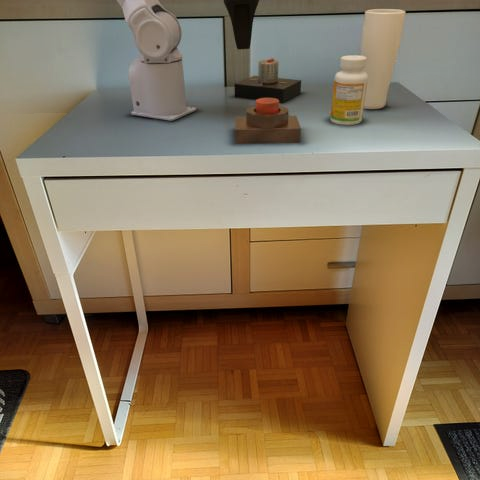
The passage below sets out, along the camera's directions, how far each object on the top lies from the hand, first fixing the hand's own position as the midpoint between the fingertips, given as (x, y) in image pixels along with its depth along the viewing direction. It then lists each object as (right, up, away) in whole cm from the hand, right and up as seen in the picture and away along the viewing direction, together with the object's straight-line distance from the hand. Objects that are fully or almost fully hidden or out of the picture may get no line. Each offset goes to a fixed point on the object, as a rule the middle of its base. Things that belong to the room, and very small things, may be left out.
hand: (243, 48), depth 77 cm
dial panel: (+5, +1, +17) cm, 18 cm away
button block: (+4, -16, -4) cm, 17 cm away
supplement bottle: (+18, -12, +2) cm, 21 cm away
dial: (+5, +3, +15) cm, 16 cm away
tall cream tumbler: (+24, -6, +9) cm, 26 cm away
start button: (+4, -14, -6) cm, 15 cm away
